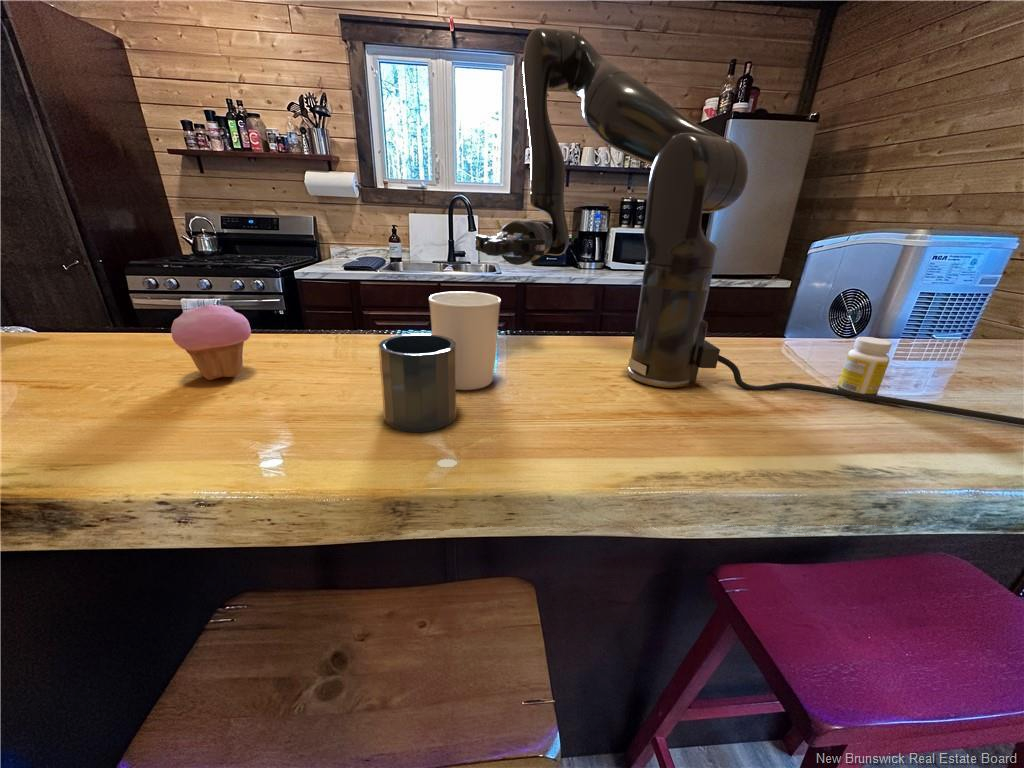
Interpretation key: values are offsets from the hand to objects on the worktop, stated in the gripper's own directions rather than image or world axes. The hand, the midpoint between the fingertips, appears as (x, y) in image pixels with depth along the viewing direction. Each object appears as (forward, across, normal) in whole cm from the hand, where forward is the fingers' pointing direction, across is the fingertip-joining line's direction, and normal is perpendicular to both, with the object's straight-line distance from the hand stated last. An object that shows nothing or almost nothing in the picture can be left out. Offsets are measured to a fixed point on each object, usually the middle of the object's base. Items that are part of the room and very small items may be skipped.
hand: (491, 248), depth 66 cm
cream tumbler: (+10, 0, +18) cm, 21 cm away
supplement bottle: (-8, +55, +18) cm, 59 cm away
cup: (+23, 0, +18) cm, 29 cm away
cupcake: (+23, -31, +18) cm, 43 cm away
